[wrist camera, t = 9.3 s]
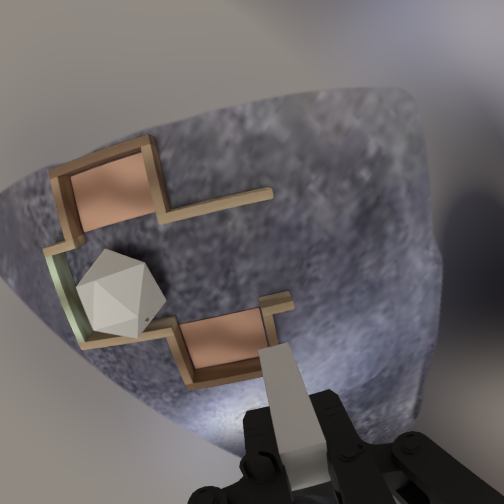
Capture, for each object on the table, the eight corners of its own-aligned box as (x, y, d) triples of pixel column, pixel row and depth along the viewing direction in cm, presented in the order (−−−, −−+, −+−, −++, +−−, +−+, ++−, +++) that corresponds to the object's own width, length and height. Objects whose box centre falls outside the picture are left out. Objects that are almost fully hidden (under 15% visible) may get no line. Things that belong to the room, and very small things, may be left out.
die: (112, 320, 36) (145, 367, 29) (57, 284, 29) (75, 331, 23) (152, 268, 38) (194, 303, 31) (102, 225, 31) (133, 254, 24)
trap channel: (299, 353, 38) (304, 366, 35) (113, 386, 37) (107, 399, 34) (251, 114, 31) (254, 108, 28) (39, 179, 30) (25, 181, 27)
